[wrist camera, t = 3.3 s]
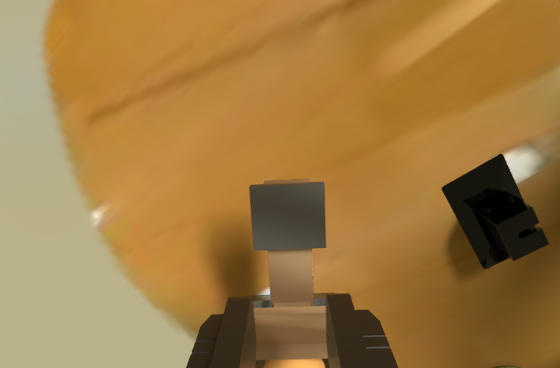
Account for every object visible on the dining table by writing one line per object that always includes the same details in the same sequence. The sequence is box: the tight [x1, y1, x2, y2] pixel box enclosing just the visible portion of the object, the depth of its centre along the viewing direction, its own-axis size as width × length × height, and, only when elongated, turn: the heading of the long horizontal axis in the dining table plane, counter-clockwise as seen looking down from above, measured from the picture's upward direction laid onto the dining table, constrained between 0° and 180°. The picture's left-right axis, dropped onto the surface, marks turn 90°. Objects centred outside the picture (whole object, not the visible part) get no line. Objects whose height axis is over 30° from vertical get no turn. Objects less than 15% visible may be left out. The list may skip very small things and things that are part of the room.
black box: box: [442, 154, 549, 269], centre depth 28 cm, size 12×7×5 cm, turn 32°
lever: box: [249, 179, 330, 368], centre depth 20 cm, size 17×6×8 cm, turn 3°
